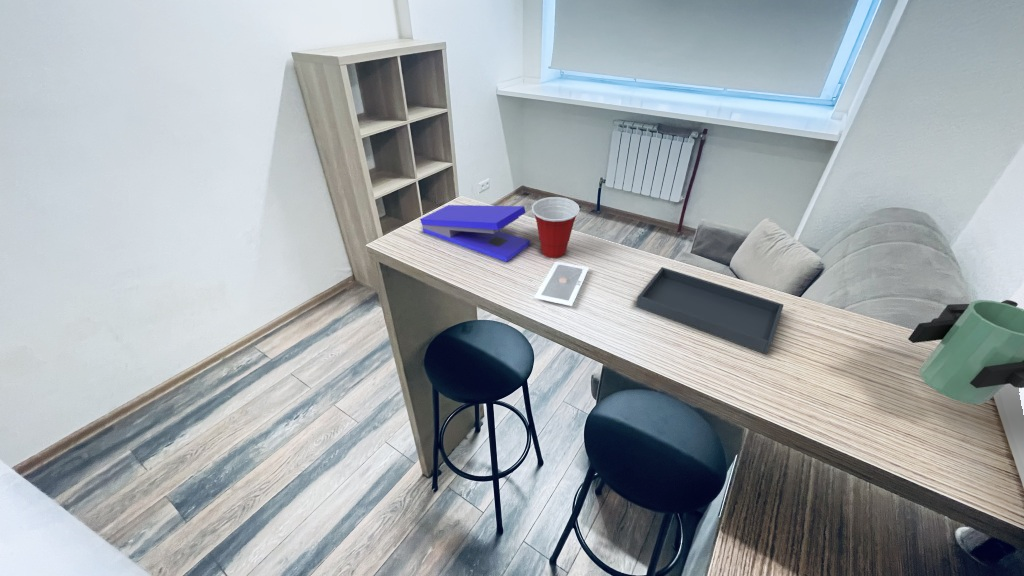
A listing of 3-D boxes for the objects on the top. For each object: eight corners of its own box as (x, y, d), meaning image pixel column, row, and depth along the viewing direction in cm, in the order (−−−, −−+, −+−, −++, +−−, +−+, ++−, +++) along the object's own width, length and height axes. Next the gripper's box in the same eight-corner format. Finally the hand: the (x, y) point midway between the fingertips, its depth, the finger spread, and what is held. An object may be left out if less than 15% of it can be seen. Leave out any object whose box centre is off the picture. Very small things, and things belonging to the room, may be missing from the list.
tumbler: (1002, 397, 51) (1070, 330, 45) (962, 409, 50) (1026, 342, 43) (942, 360, 56) (995, 296, 50) (905, 370, 55) (954, 305, 49)
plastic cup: (528, 262, 95) (528, 215, 88) (533, 240, 104) (534, 195, 97) (575, 265, 93) (579, 218, 86) (576, 243, 102) (580, 198, 95)
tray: (779, 314, 78) (783, 304, 76) (766, 354, 69) (771, 343, 68) (659, 276, 89) (661, 266, 88) (636, 306, 80) (638, 296, 79)
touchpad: (533, 302, 82) (533, 293, 81) (555, 265, 94) (555, 257, 92) (571, 310, 80) (572, 301, 79) (588, 271, 91) (589, 263, 90)
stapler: (505, 263, 95) (503, 224, 89) (419, 232, 108) (414, 197, 103) (531, 243, 102) (532, 206, 97) (449, 217, 116) (445, 183, 110)
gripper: (1194, 417, 46) (1020, 444, 43) (997, 309, 62) (861, 325, 59) (1264, 370, 41) (1075, 397, 39) (1032, 268, 57) (888, 282, 55)
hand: (946, 354), depth 49 cm, fingers closed on tumbler, 7 cm apart
